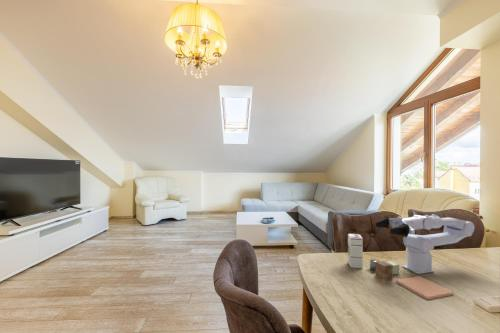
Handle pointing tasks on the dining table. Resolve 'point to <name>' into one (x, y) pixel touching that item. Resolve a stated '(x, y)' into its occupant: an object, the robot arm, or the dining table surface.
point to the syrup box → (355, 251)
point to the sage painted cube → (395, 267)
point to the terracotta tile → (424, 287)
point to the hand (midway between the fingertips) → (383, 227)
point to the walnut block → (384, 270)
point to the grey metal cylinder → (373, 264)
